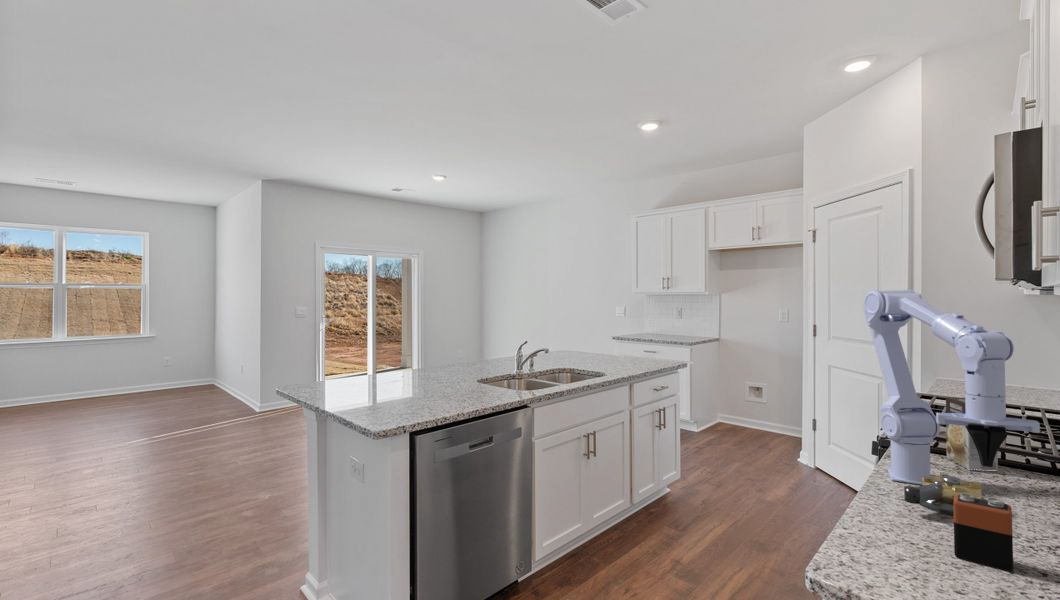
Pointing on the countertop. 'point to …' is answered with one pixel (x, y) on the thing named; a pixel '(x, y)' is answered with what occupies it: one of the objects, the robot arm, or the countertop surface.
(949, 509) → the mounting plate
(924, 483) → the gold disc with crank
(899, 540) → the countertop surface
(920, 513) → the countertop surface
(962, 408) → the coffee box
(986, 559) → the battery
